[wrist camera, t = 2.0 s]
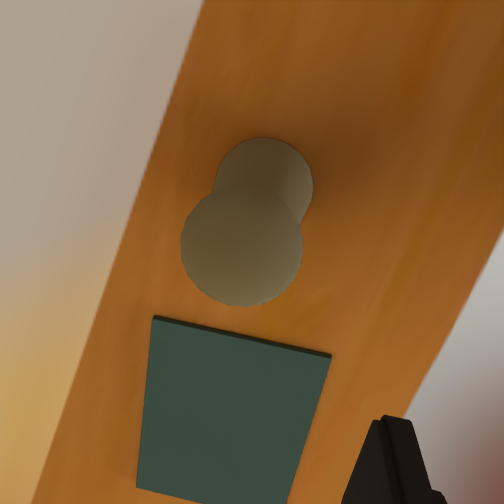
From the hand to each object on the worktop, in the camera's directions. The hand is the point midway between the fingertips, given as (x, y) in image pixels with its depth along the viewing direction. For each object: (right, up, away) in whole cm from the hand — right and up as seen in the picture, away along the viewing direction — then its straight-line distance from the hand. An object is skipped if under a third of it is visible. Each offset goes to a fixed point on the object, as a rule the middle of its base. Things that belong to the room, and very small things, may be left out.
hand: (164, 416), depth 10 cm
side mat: (0, -10, +26) cm, 28 cm away
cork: (+3, +8, +17) cm, 19 cm away
